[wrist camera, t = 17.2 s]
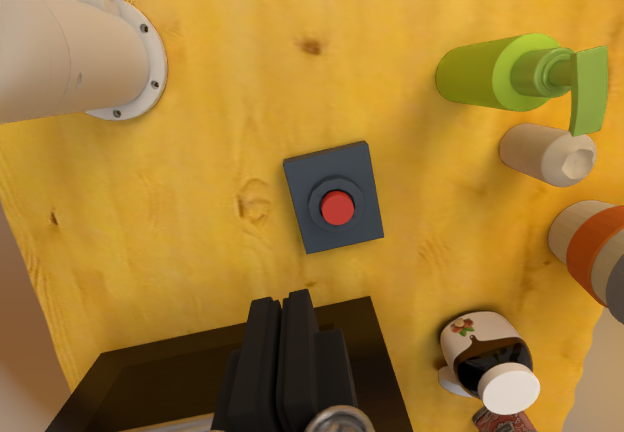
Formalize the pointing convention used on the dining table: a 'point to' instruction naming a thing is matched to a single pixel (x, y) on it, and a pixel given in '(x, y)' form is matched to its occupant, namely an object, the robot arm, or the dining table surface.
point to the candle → (548, 154)
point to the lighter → (502, 422)
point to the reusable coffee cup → (593, 250)
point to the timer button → (337, 208)
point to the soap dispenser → (528, 77)
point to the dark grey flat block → (327, 178)
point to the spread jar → (488, 362)
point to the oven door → (218, 379)
